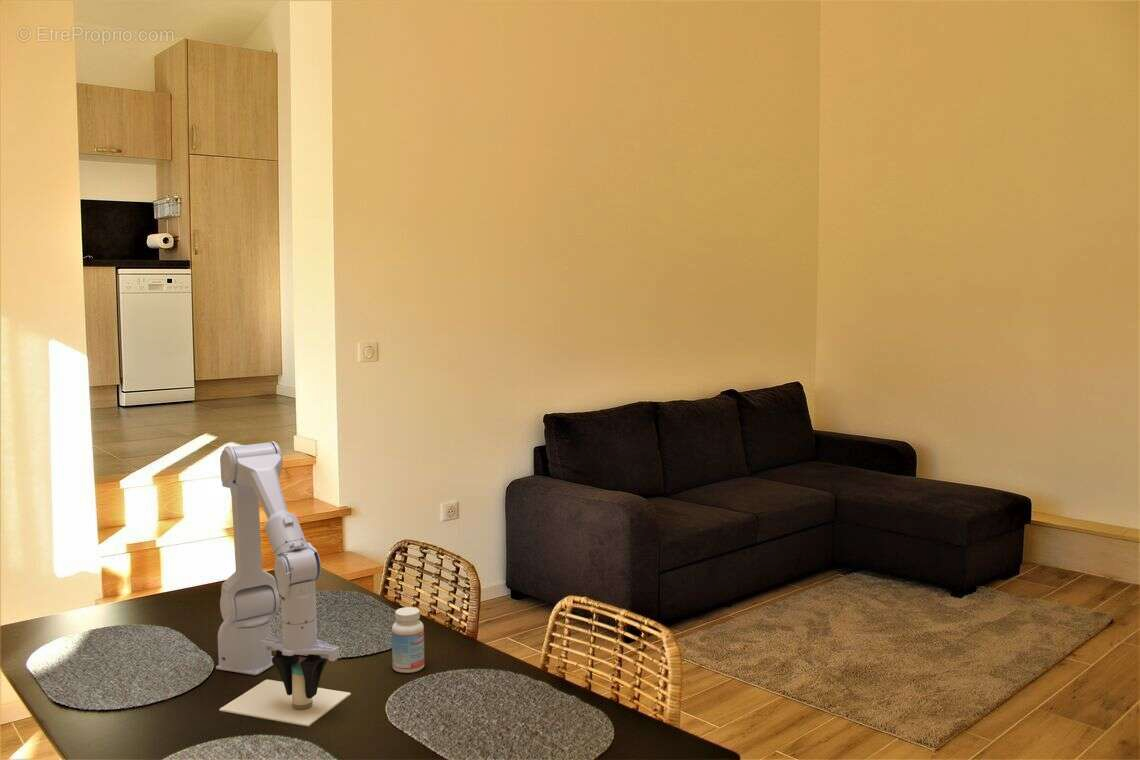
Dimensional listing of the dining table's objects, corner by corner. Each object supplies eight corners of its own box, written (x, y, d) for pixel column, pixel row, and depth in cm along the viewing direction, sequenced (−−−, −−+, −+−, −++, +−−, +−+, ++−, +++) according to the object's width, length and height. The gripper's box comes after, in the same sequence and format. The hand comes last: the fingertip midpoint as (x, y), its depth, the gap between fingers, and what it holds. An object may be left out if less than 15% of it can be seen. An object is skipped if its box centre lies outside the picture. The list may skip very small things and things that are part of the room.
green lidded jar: (287, 707, 164) (287, 667, 163) (300, 700, 167) (299, 660, 166) (304, 711, 163) (304, 670, 162) (317, 703, 166) (316, 663, 165)
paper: (219, 710, 164) (219, 709, 164) (266, 680, 176) (266, 679, 176) (308, 726, 158) (308, 724, 158) (350, 694, 170) (350, 692, 170)
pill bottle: (418, 675, 178) (416, 617, 177) (387, 672, 180) (386, 615, 178) (429, 662, 184) (428, 606, 183) (399, 660, 185) (398, 604, 184)
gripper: (249, 621, 162) (252, 698, 163) (322, 631, 157) (324, 710, 158) (274, 608, 168) (277, 681, 170) (345, 617, 164) (347, 693, 165)
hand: (301, 694), depth 164 cm, fingers closed on green lidded jar, 3 cm apart
